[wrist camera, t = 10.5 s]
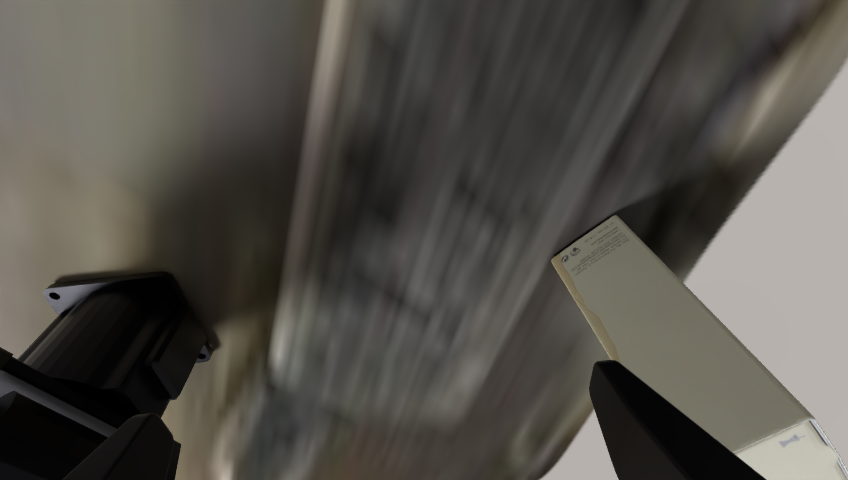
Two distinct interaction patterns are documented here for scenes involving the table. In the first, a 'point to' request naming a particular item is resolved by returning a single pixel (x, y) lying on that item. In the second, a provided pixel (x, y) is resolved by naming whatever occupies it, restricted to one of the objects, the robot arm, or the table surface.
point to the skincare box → (691, 356)
